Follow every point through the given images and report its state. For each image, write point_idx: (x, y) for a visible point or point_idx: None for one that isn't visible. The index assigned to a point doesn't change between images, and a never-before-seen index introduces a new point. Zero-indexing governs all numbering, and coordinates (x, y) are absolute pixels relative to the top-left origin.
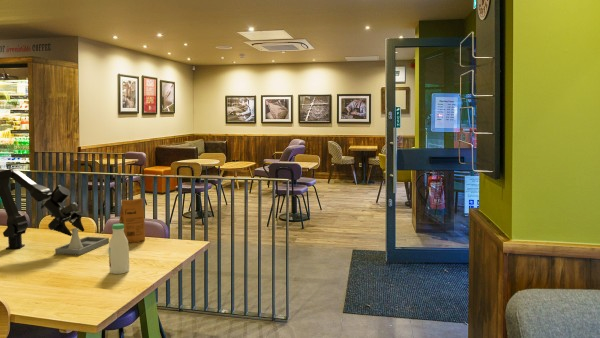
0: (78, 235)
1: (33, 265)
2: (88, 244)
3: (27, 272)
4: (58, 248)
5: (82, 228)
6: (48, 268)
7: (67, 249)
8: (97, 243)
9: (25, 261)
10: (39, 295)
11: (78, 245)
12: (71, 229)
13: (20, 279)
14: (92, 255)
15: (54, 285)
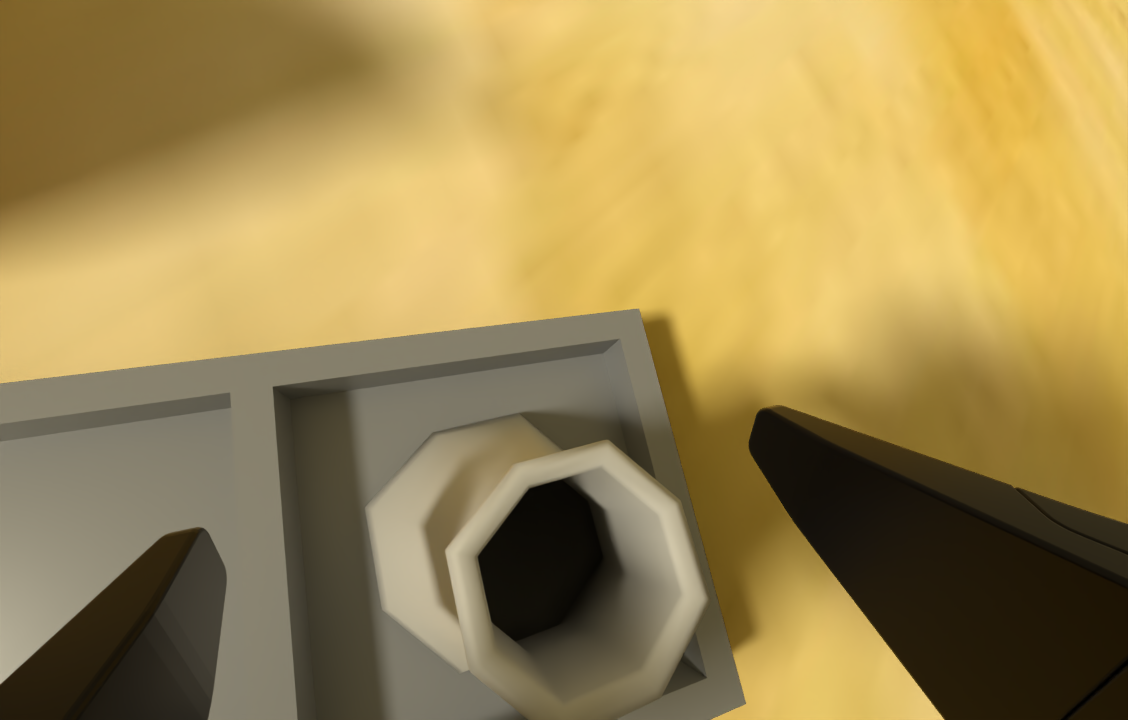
0: (493, 481)
1: (1000, 481)
2: (284, 461)
3: (1070, 364)
4: (712, 666)
5: (170, 599)
6: (955, 297)
7: (683, 482)
8: (159, 371)
9: None
10: (1102, 51)
11: (533, 433)
12: (682, 653)
13: (1123, 289)
14: (549, 207)
15: (1031, 62)
